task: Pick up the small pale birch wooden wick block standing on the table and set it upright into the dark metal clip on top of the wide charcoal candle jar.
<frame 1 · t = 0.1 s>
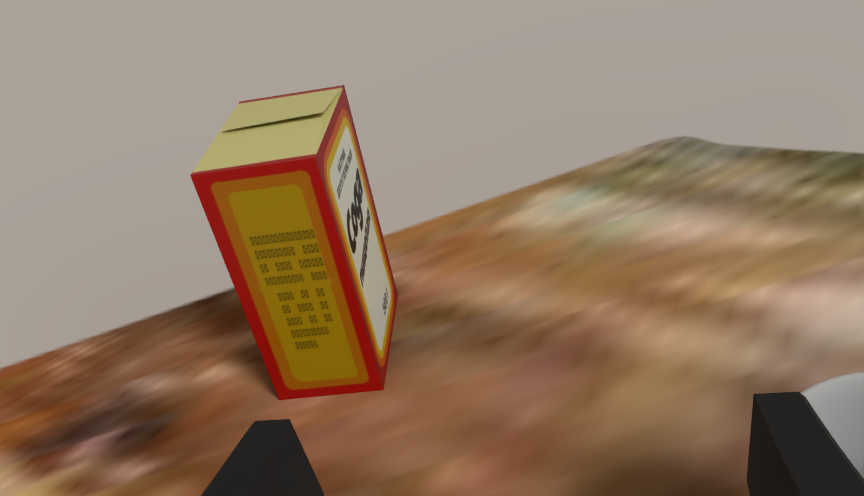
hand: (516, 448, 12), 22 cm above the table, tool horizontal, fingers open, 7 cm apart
baking soda box: (343, 346, 51), on the table
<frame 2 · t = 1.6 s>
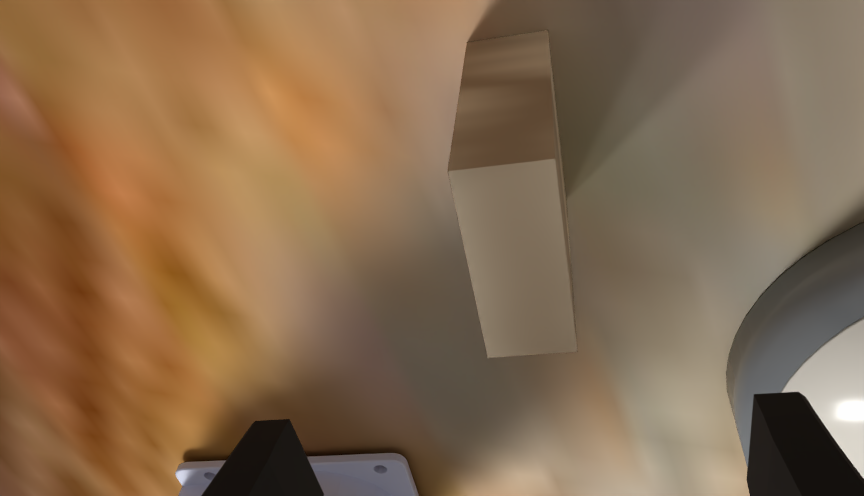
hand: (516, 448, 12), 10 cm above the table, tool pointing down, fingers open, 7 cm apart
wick: (519, 125, 20), on the table
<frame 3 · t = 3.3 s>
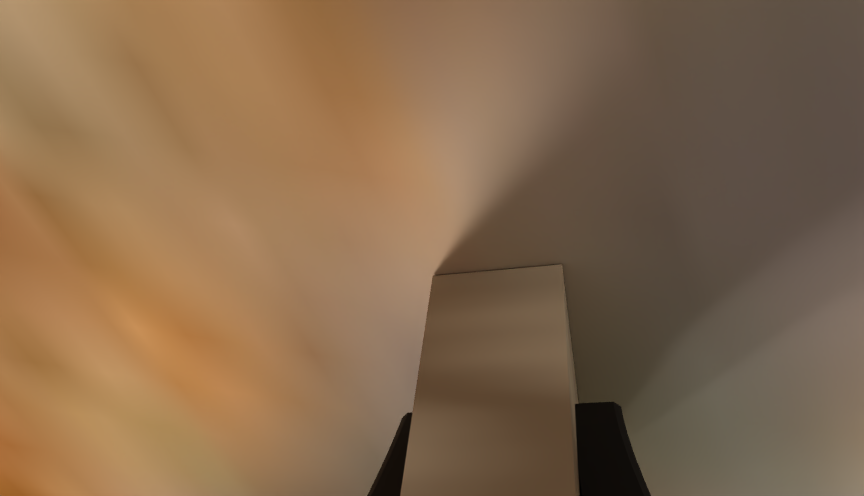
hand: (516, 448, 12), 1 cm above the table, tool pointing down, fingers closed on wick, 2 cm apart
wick: (517, 381, 13), on the table, touching gripper
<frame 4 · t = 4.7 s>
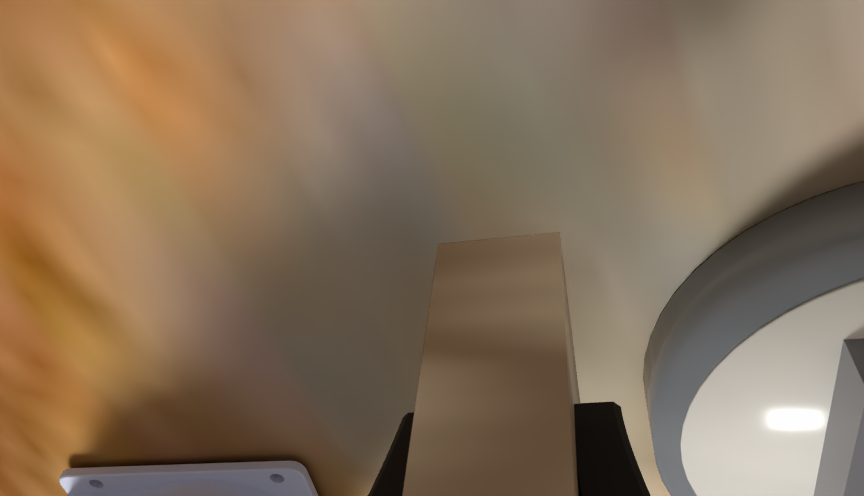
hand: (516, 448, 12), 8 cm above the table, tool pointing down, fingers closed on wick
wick: (517, 345, 14), point 6 cm above the table, touching gripper
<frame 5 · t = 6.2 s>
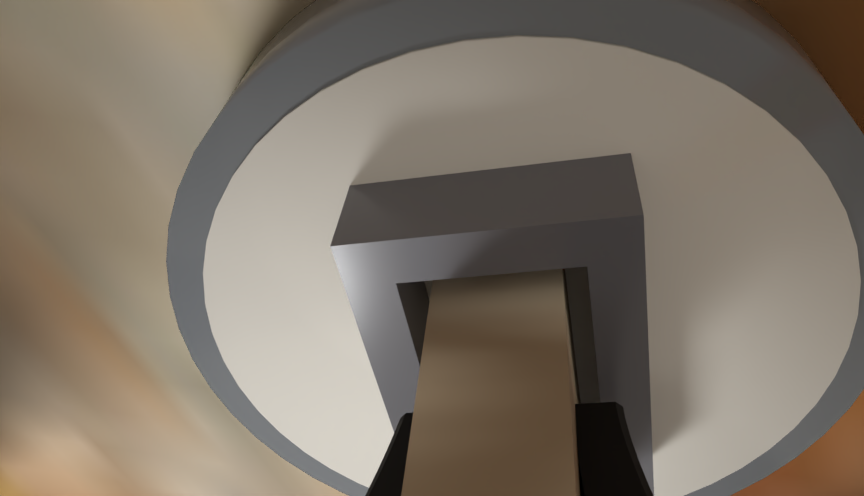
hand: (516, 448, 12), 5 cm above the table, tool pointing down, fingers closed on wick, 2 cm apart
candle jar: (516, 255, 16), on the table
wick: (517, 339, 14), point 2 cm above the table, touching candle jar, gripper
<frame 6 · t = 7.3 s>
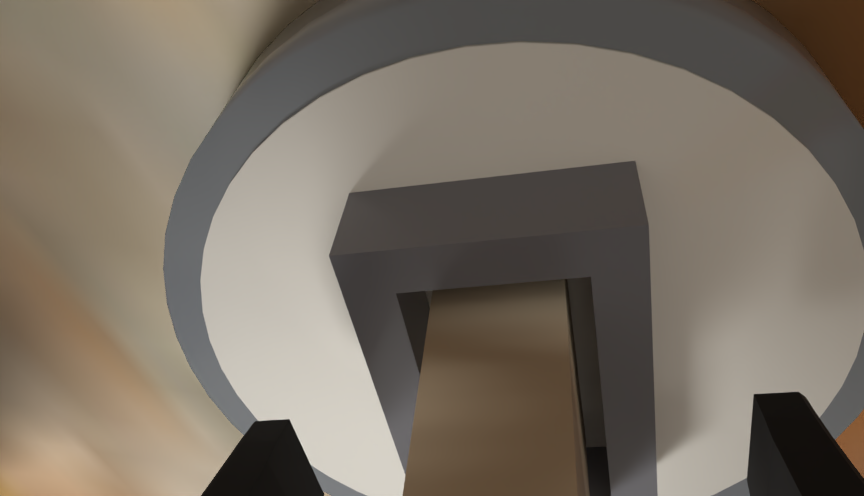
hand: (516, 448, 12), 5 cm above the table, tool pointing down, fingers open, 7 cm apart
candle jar: (518, 261, 16), on the table
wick: (518, 348, 14), point 2 cm above the table, touching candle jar
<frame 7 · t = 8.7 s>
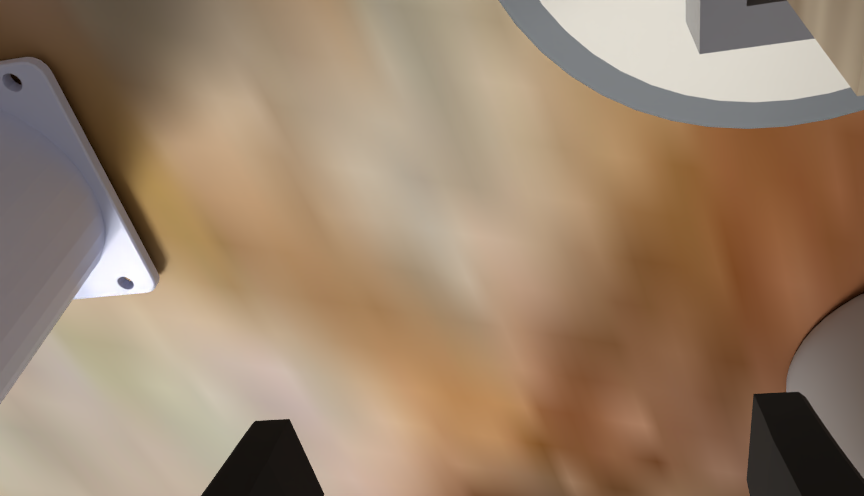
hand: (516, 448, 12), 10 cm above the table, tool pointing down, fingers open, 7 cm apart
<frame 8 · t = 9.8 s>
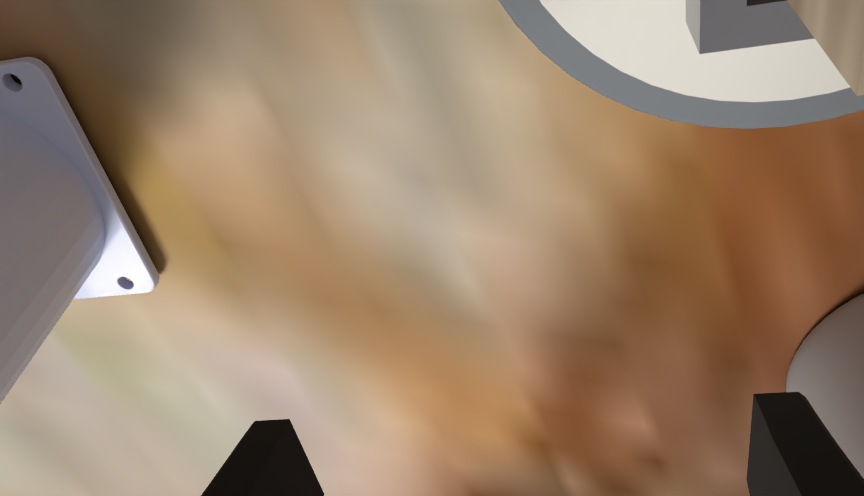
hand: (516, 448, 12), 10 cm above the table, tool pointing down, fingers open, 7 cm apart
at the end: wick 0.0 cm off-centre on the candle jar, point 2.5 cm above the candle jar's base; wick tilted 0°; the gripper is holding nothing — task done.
